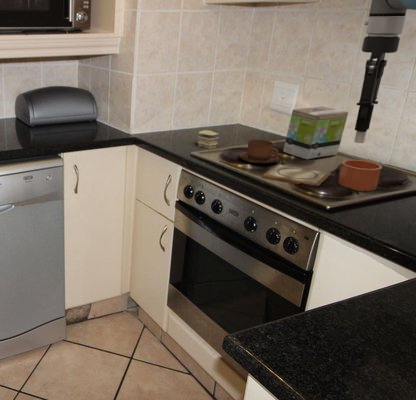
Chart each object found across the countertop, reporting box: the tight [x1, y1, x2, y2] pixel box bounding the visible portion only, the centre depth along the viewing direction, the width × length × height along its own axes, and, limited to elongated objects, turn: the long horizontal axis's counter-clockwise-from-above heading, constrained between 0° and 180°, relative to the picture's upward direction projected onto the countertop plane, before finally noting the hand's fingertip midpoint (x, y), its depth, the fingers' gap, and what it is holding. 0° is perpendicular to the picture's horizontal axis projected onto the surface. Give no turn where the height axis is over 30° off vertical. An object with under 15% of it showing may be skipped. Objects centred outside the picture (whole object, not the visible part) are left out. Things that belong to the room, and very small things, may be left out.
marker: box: [354, 97, 374, 144], centre depth 125 cm, size 2×2×13 cm
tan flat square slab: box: [261, 163, 332, 186], centre depth 138 cm, size 15×14×1 cm
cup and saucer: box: [238, 139, 280, 165], centre depth 152 cm, size 12×12×6 cm
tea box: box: [283, 106, 349, 160], centre depth 158 cm, size 15×10×15 cm, turn 117°
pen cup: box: [337, 159, 383, 192], centre depth 130 cm, size 9×9×6 cm
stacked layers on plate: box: [197, 129, 220, 150], centre depth 169 cm, size 10×9×6 cm
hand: (361, 129), depth 126 cm, fingers closed on marker, 2 cm apart
